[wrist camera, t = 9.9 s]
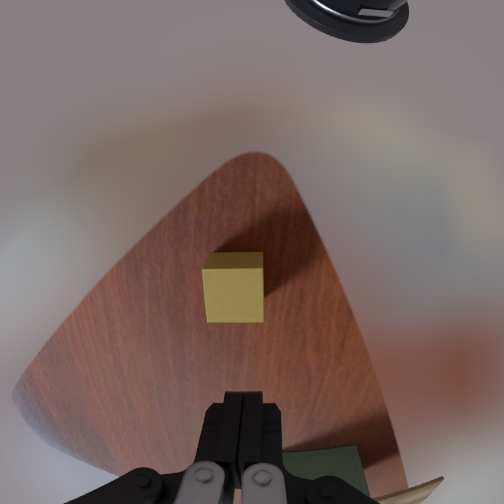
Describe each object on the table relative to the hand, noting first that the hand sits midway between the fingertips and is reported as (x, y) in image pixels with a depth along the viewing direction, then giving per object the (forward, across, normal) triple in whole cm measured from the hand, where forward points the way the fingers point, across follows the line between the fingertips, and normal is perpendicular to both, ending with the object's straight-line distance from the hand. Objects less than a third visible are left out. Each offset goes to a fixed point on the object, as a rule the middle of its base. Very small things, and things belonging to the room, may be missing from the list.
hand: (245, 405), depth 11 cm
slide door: (+4, -16, +29) cm, 33 cm away
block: (+13, +1, -1) cm, 13 cm away
